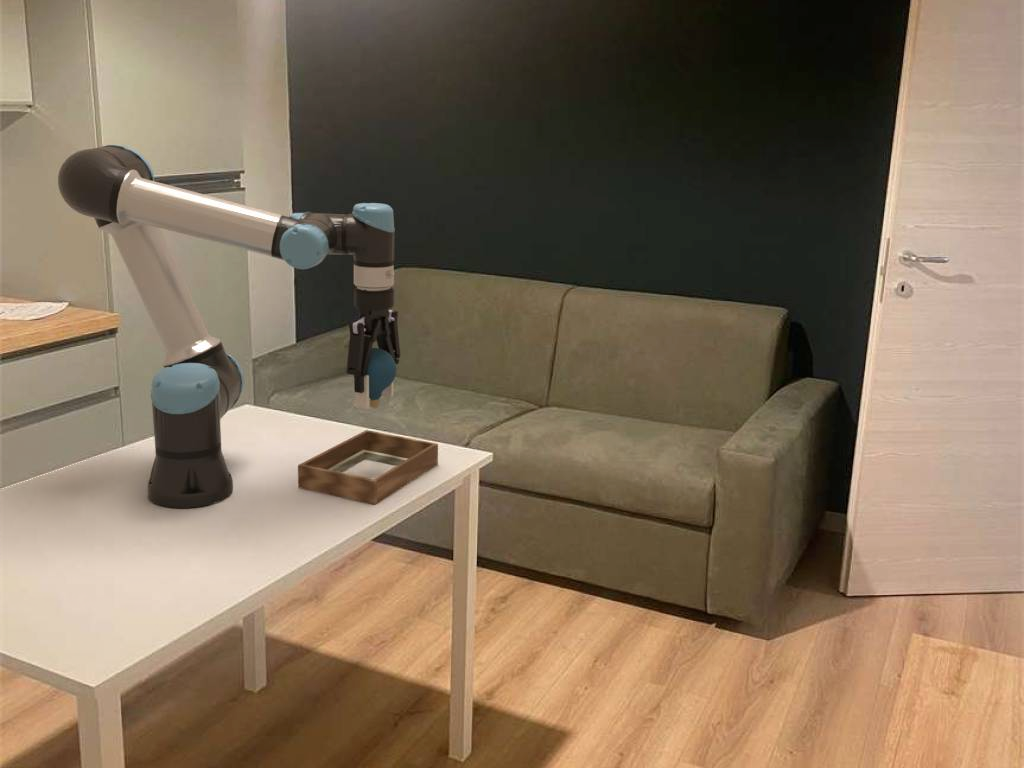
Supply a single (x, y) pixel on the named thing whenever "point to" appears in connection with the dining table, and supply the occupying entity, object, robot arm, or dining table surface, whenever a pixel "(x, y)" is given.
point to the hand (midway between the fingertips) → (374, 401)
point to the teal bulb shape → (379, 374)
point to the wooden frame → (376, 446)
